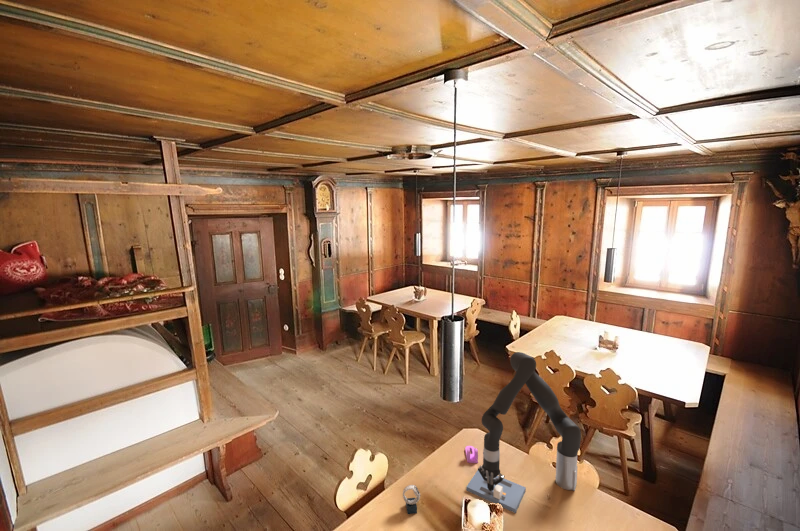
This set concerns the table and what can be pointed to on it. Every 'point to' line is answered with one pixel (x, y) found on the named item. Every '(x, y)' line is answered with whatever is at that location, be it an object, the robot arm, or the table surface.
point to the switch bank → (479, 487)
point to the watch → (411, 499)
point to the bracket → (471, 457)
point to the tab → (498, 491)
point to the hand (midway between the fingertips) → (490, 489)
